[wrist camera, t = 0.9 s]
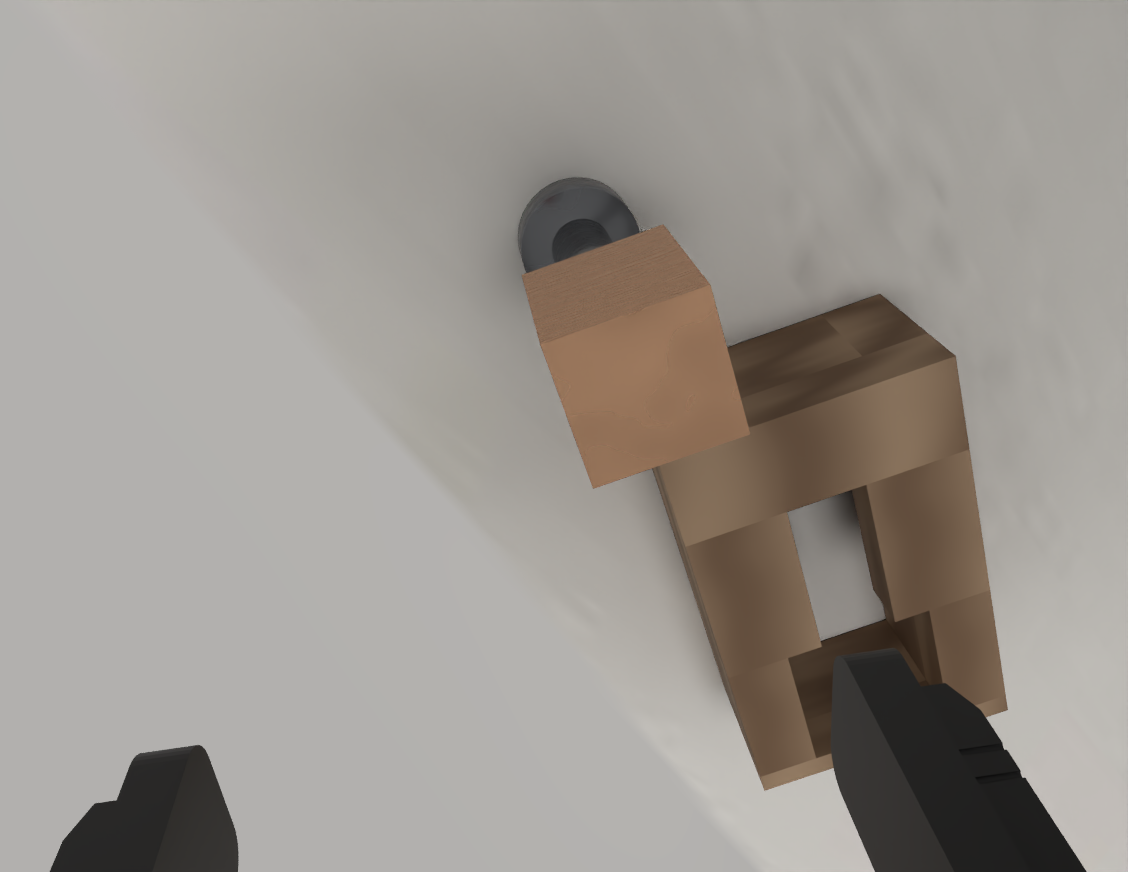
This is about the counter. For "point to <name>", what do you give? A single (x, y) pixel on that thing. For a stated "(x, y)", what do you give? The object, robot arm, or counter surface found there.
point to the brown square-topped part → (625, 333)
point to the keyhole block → (885, 513)
